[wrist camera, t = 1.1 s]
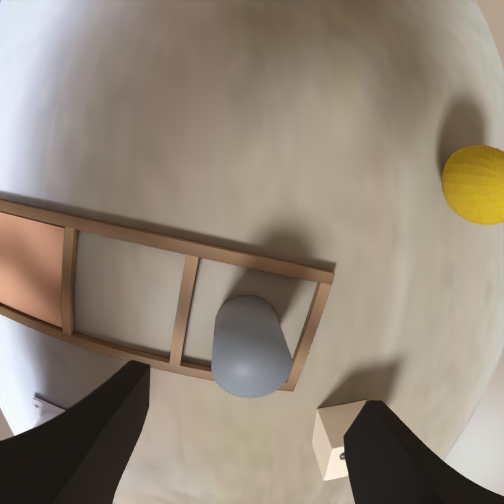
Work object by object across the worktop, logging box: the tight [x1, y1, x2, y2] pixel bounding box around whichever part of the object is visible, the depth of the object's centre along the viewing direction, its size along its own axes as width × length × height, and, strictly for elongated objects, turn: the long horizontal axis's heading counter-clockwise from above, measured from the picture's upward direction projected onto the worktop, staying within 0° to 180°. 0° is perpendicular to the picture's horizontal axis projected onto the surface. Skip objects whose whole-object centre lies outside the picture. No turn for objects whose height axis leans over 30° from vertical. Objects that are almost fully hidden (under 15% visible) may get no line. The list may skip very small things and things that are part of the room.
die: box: [312, 399, 369, 481], centre depth 21 cm, size 5×5×5 cm
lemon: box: [442, 145, 504, 225], centre depth 16 cm, size 6×6×8 cm
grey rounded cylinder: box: [211, 295, 292, 398], centre depth 18 cm, size 4×4×6 cm
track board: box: [0, 199, 335, 391], centre depth 19 cm, size 10×28×1 cm, turn 77°
